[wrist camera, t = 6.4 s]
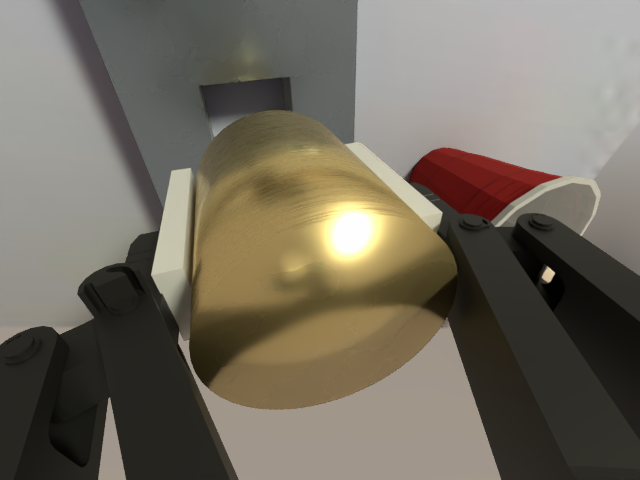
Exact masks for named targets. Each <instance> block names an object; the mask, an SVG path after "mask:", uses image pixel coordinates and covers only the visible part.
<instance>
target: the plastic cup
mask: <svg viewBox="0 0 640 480" xmlns="http://www.w3.org/2000/svg"><path fill="white" fill-rule="evenodd" d="M412 182H416V183H418V184H421V185H423V186H425V187H427V188H428V189H429V190H431V191H432V192H433V193H434V194H436V195H437V196H438V197H439V198H440V200H441V199H442V200H443V201H444V202H446V203H447V204H448V205H449V206H451V207H452V208H453V209H454V210H456V211H457V212H458V213H459V214H474V215H477V216H481V217H483V218H485V219H487V220H489V221H490V222H491V223H492V224H493V225H494V226H495V227H514V226H515V223H516V221H517V218H518V217H519V216H520V215H522V214H526V213H539V214H540V213H541V214H545V215H547V216H550V217H553V218H555V219H556V220H558V221H560V222H562V223H563V224H564V225H566V226H567V227H569V228H570V229H572V230H573V231H575V232H576V233H578V234H579V235H580V236H582V235H583V233H584V231H585V230H586V228H587V227H588V225H589V223H590V222H591V220H592V219H593V217H594V215H595V214H596V211H597V207H598V203H599V199H600V195H601V193H600V191H599V189H598V186H597V184H596V182H595V180H591V179H586V178H580V177H575V176H569V175H567V176H564V177H561V176H557V175H551V174H547V173H544V172H539V171H534V170H529V169H526V168H522V167H519V166H516V165H512V164H509V163H505V162H502V161H499V160H495V159H492V158H488V157H485V156H481V155H477V154H472V153H468V152H464V151H461V150H457V149H452V148H440V149H436V150H433V151H431V152H430V153H428V154H427V155H425V156H424V157H423V158H422V159H421V160H420V161H419V162H418V163H417V165H416V166H415V167H414V170H413V172H412V174H411V176H410V183H412ZM548 268H549V267H548V266H547V268H546V270H547V269H548ZM546 270H545V271H546Z"/></svg>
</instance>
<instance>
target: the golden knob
mask: <svg viewBox="0 0 640 480" xmlns="http://www.w3.org/2000/svg"><path fill="white" fill-rule="evenodd" d="M457 283H458V273H457V265H456V262H455V259H454V256H453V254H452V252H451V250H450V249H449V247H448V245H447V244H446V243H445V242H444V241H443V240H442V239H441V238H440V237H439V236H438V235H437V234H436V233H435V232H434V231H433V230H432V229H431V228H430V227H429V226H428V225H427V224H426V223H425V222H424V221H423V220H422V219H421V218H420V217H419V216H418V215H417V214H416V213H415V212H414V211H413V210H411V209H410V208H409V207H408V206H407V205H406V204H405V203H404V202H403V201H402V200H401V199H400V198H399V197H398V196H397V195H396V194H395V193H394V192H393V191H392V190H391V189H390V188H389V187H388V186H387V185H386V184H385V183H383V182H382V181H381V180H380V179H379V178H378V177H377V176H376V175H375V174H374V173H373V172H372V171H371V170H370V169H369V168H368V167H367V166H366V165H365V164H364V163H363V162H362V161H361V160H360V159H359V158H358V157H357V156H355V155H354V154H353V153H352V152H351V151H350V150H349V149H348V148H347V147H346V146H345V145H344V144H343V143H342V142H341V141H340V140H339V139H338V138H337V137H336V136H335V135H334V134H333V133H332V132H331V131H330V130H329V129H327V128H326V127H325V126H324V125H322V124H321V123H320V122H318V121H316V120H314V119H313V118H311V117H308V116H306V115H303V114H301V113H296V112H292V111H284V110H269V111H262V112H257V113H253V114H251V115H248V116H245V117H243V118H241V119H239V120H237V121H235V122H233V123H232V124H230V125H229V126H227V127H226V128H224V129H223V130H222V131H221V132H220V133H219V134H218V135H217V136H216V137H215V138H214V139H213V141H212V142H211V143H210V144H209V146H208V147H207V149H206V151H205V152H204V154H203V156H202V159H201V161H200V164H199V168H198V172H197V180H196V200H195V224H194V247H193V270H192V294H191V317H190V342H189V350H190V358H191V362H192V365H193V368H194V370H195V372H196V374H197V375H198V377H199V378H200V380H201V381H202V383H204V385H205V386H207V387H208V388H209V389H210V390H211V391H212V392H214V393H215V394H217V395H218V396H220V397H222V398H224V399H226V400H228V401H231V402H233V403H236V404H239V405H243V406H247V407H252V408H259V409H295V408H302V407H308V406H314V405H318V404H322V403H326V402H330V401H333V400H337V399H340V398H342V397H345V396H348V395H351V394H353V393H355V392H358V391H360V390H362V389H364V388H366V387H368V386H370V385H372V384H374V383H376V382H378V381H380V380H382V379H383V378H385V377H386V376H388V375H390V374H391V373H393V372H394V371H396V370H397V369H399V368H400V367H401V366H403V365H404V364H405V363H406V362H408V361H409V360H410V359H412V358H413V357H414V356H415V355H416V354H417V353H418V352H419V351H420V350H422V348H423V347H424V346H425V345H426V344H427V343H428V342H429V341H430V340H431V339H432V338H433V336H434V335H435V334H436V333H437V331H438V330H439V328H440V327H441V326H442V324H443V323H444V321H445V319H446V317H447V315H448V314H449V312H450V310H451V307H452V304H453V302H454V299H455V295H456V291H457Z"/></svg>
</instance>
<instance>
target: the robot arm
mask: <svg viewBox="0 0 640 480" xmlns="http://www.w3.org/2000/svg"><path fill="white" fill-rule="evenodd" d="M344 145H345V146H346V147H347V148H348V149H349V150H350V151H351V152H352V153H353V154H354V155H355V156H357V157H358V158H359V159H360V160H361V161H362V162H363V163H364V164H365V165H366V166H367V167H368V168H369V169H370V170H371V171H372V172H373V173H374V174H375V175H376V176H377V177H378V178H379V179H380V180H381V181H382V182H383V183H385V184H386V185H387V186H388V187H389V188H390V189H391V190H392V191H393V192H394V193H395V194H396V195H397V196H398V197H399V198H400V199H401V200H402V201H403V202H404V203H405V204H406V205H407V206H408V207H409V208H410V209H411V210H413V211H414V212H415V213H416V214H417V215H418V216H419V217H420V218H421V219H422V220H423V221H424V222H425V223H426V224H427V225H428V226H429V227H430V228H431V229H432V230H433V231H434V232H435V233H436V234H437V235H438V236H439V237H440V238H441V239H442V240H443V241H444V242H445V243H446V244H447V245H448V247H449V249H450V250H451V252H452V254H453V256H454V259H455V262H456V265H457V273H458V283H457V291H456V295H455V299H454V302H453V304H452V307H451V310H450V312H449V314H448V315H447V318H448V321H449V324H450V327H451V330H452V333H453V336H454V339H455V342H456V344H457V348H458V351H459V354H460V357H461V360H462V363H463V366H464V369H465V372H466V375H467V378H468V381H469V384H470V387H471V390H472V393H473V396H474V398H475V402H476V405H477V408H478V411H479V414H480V417H481V419H482V423H483V426H484V429H485V432H486V435H487V438H488V441H489V444H490V447H491V450H492V453H493V456H494V459H495V462H496V465H497V468H498V471H499V474H500V477H501V480H640V276H639V275H637V274H636V273H634V272H633V271H631V270H630V269H628V268H627V267H625V266H624V265H623V264H621V263H620V262H618V261H617V260H615V259H614V258H612V257H611V256H610V255H608V254H607V253H605V252H604V251H602V250H601V249H599V248H598V247H596V246H595V245H593V244H592V243H591V242H589V241H588V240H586V239H585V238H583V237H582V236H580V235H579V234H578V233H576V232H575V231H573V230H572V229H570V228H569V227H567V226H566V225H564V224H563V223H562V222H560V221H558V220H556V219H555V218H553V217H550V216H547V215H545V214H541V213H540V214H539V213H526V214H522V215H520V216H519V217H518V218H517V221H516V223H515V226H514V227H495V226H494V225H493V224H492V223H491V222H490V221H489V220H487V219H485V218H483V217H481V216H477V215H474V214H459V213H458V212H457V211H456V210H454V209H453V208H452V207H451V206H449V205H448V204H447V203H446V202H444V201H443V200H442V199H441V200H440V198H439V197H438V196H437V195H436V194H434V193H433V192H432V191H431V190H429V189H428V188H427V187H425V186H423V185H421V184H418V183H416V182H412V183H407V182H406V181H405V180H404V179H403V178H402V177H400V176H399V175H398V174H397V173H396V172H394V171H393V170H392V169H391V168H390V167H389V166H387V165H386V164H385V163H384V162H383V161H382V160H380V159H379V158H378V157H377V156H376V155H375V154H373V153H372V152H371V151H370V150H369V149H367V148H366V147H365V146H364V145H363V144H362V143H360V142H356V143H350V144H344ZM195 200H196V183H195V180H194V176H193V173H192V170H191V168H186V169H180V170H173V171H172V172H171V177H170V182H169V187H168V192H167V197H166V202H165V207H164V212H163V217H162V222H161V227H160V231H157V232H151V233H146V234H141V235H139V236H138V237H137V238H136V239H135V241H134V242H133V243H132V244H131V245H130V248H129V252H128V257H127V258H126V261H125V263H118V264H114V265H110V266H106V267H104V268H102V269H100V270H98V271H96V272H94V273H93V274H91V275H90V276H89V277H87V278H86V279H85V280H84V281H83V282H82V284H81V285H80V286H79V289H78V296H79V297H80V298H81V300H82V301H83V303H84V304H85V305H86V307H87V308H88V309H89V311H90V312H91V313H92V315H93V316H94V317H95V318H94V319H92V320H90V321H88V322H86V323H84V324H82V325H80V326H78V327H76V328H73V329H71V330H69V331H67V332H64V333H62V334H60V335H59V334H58V333H57V332H56V331H55V330H54V329H53V328H52V327H46V326H40V327H35V328H30V329H28V330H25V331H23V332H20V333H18V334H16V335H14V336H13V337H11V338H9V339H8V340H6V341H5V342H4V343H2V344H1V345H0V480H98V474H99V467H100V459H101V452H102V444H103V436H104V428H105V420H106V412H107V404H108V398H109V397H110V399H111V404H112V409H113V414H114V419H115V424H116V429H117V435H118V440H119V444H120V449H121V455H122V460H123V465H124V470H125V475H126V480H238V477H237V475H236V473H235V470H234V468H233V466H232V463H231V461H230V459H229V457H228V454H227V452H226V450H225V448H224V445H223V443H222V441H221V439H220V436H219V434H218V432H217V429H216V427H215V425H214V422H213V420H212V418H211V416H210V413H209V411H208V409H207V407H206V404H205V402H204V400H203V398H202V395H201V393H200V391H199V388H198V386H197V384H196V381H195V379H194V377H193V375H192V373H191V370H190V368H189V366H188V363H187V361H186V359H185V356H184V354H183V352H182V350H181V348H180V346H179V344H178V335H179V331H180V333H181V335H182V337H183V339H184V340H185V341H186V340H189V339H190V317H191V294H192V270H193V247H194V224H195ZM547 266H548V267H549V268H550V269H551V270H552V271H553V272H555V274H554V276H553V278H552V280H551V281H550V282H549V283H548V282H547V281H545V280H544V279H543V278H542V276H543V274H544V272H545V270H546V268H547Z"/></svg>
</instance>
